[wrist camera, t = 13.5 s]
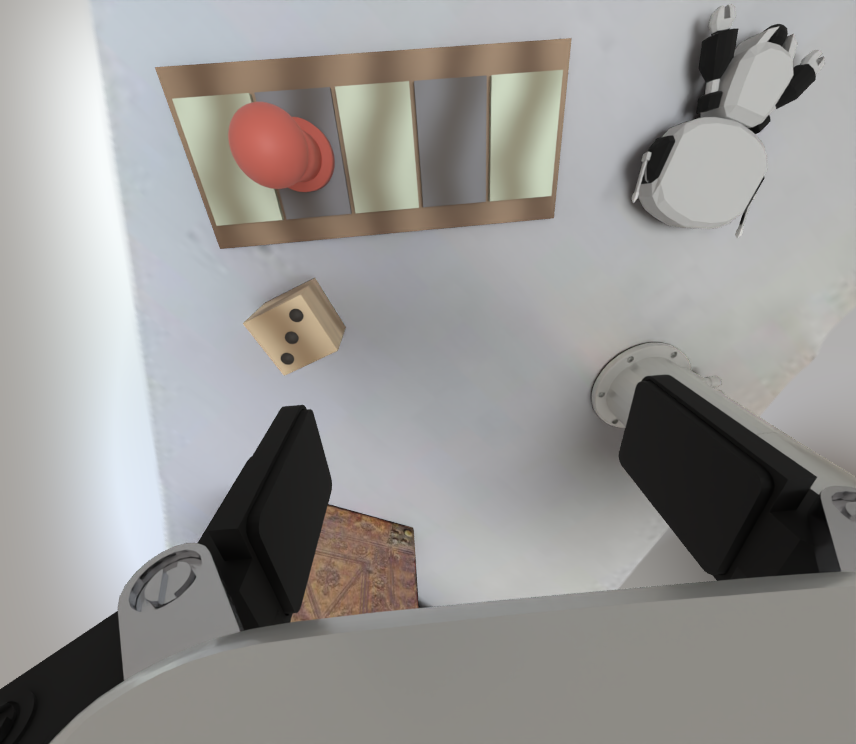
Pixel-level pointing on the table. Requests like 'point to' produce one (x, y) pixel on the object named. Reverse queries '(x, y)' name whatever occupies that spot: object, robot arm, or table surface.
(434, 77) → the board
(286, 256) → the table surface
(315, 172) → the pawn
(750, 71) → the robot toy
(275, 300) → the die
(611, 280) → the table surface
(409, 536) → the book
